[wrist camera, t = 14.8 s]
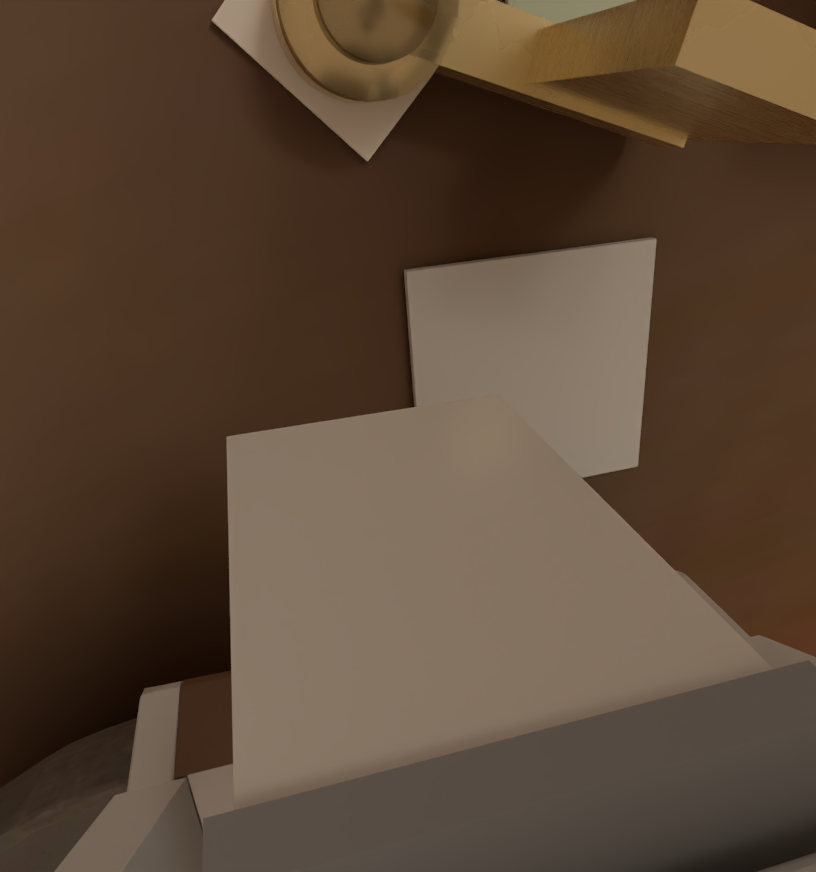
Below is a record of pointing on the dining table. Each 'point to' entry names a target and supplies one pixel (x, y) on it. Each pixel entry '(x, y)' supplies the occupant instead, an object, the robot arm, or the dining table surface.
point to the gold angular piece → (574, 62)
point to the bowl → (62, 798)
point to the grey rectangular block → (484, 669)
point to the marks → (352, 122)
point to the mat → (542, 343)
